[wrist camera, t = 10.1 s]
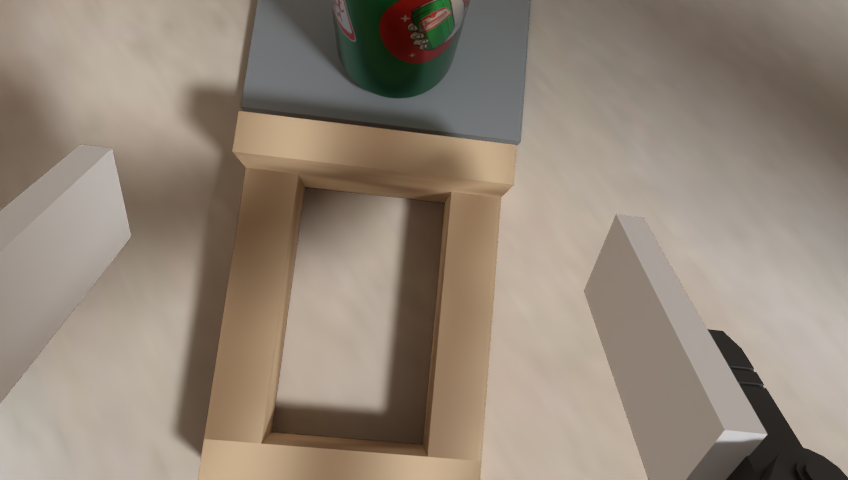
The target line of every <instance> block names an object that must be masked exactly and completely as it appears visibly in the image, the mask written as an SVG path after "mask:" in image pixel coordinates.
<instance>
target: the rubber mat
mask: <svg viewBox="0 0 848 480" xmlns="http://www.w3.org/2000/svg"><path fill="white" fill-rule="evenodd" d="M530 1H531V0H471V1H470V5H469V8H468V12H467V15H466V18H465V22H464V25H463V28H462V32H461V35H460V39H459V42H458V45H457V49H456V52H455V55H454V59H453V62H452V64H451V67H450V69H449V71H448V72H447V74H446V75H445V77H444V78H443V79H442V80H441V81H440V82H439V83H438V84H437V85H436V86H435V87H433V88H432V89H430V90H428V91H427V92H425V93H423V94H420V95H417V96H414V97H409V98H399V99H396V98H387V97H383V96H379V95H376V94H374V93H371V92H369V91H367V90H366V89H364V88H362V87H361V86H360V85H358V84H357V83H356V82H355V81H354V80H353V79H352V78H351V77H350V76H349V75H348V73H347V72H346V70H345V69H344V67H343V65H342V63H341V61H340V58H339V54H338V51H337V44H336V37H335V29H334V22H333V15H332V7H331V0H258V2H257V8H256V14H255V20H254V27H253V33H252V39H251V45H250V52H249V58H248V64H247V71H246V77H245V83H244V89H243V96H242V102H241V108H242V109H243V111H246V112H254V113H262V114H271V115H279V116H287V117H295V118H303V119H311V120H319V121H327V122H335V123H343V124H352V125H360V126H368V127H376V128H384V129H392V130H400V131H408V132H416V133H425V134H433V135H441V136H449V137H457V138H465V139H473V140H481V141H489V142H497V143H506V144H514V145H518V144H519V143H520V142H521V130H522V116H523V101H524V87H525V73H526V58H527V44H528V30H529V15H530Z"/></svg>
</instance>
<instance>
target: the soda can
mask: <svg viewBox="0 0 848 480" xmlns="http://www.w3.org/2000/svg"><path fill="white" fill-rule="evenodd" d="M470 1H471V0H331V7H332V15H333V22H334V29H335V37H336V44H337V51H338V54H339V58H340V61H341V63H342V65H343V67H344V69H345V70H346V72H347V73H348V75H349V76H350V77H351V78H352V79H353V80H354V81H355V82H356V83H357V84H358V85H360V86H361V87H362V88H364V89H366V90H367V91H369V92H371V93H374V94H376V95H379V96H383V97H387V98H396V99H399V98H409V97H414V96H417V95H420V94H423V93H425V92H427V91H428V90H430V89H432V88H433V87H435V86H436V85H437V84H438V83H439V82H440V81H441V80H442V79H443V78H444V77H445V75H446V74H447V72H448V71H449V69H450V67H451V64H452V62H453V59H454V55H455V52H456V49H457V45H458V42H459V39H460V35H461V32H462V28H463V25H464V22H465V18H466V15H467V12H468V8H469V5H470Z"/></svg>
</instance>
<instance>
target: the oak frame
mask: <svg viewBox="0 0 848 480" xmlns="http://www.w3.org/2000/svg"><path fill="white" fill-rule="evenodd" d="M516 147H517V145H512V144H503V143H495V142H487V141H479V140H471V139H463V138H455V137H447V136H439V135H430V134H422V133H414V132H406V131H398V130H390V129H382V128H374V127H366V126H357V125H349V124H341V123H333V122H325V121H317V120H309V119H301V118H293V117H285V116H276V115H268V114H260V113H252V112H244V111H239V112H238V118H237V124H236V131H235V137H234V143H233V149H232V152H233V153H234V154H235V156H236V157H237V158H238V159H239V160H240V162H241V163H242V164H243V165H244V166H245V168H246V170H245V177H244V183H243V190H242V196H241V202H240V209H239V215H238V222H237V228H236V235H235V241H234V248H233V254H232V261H231V267H230V274H229V280H228V287H227V293H226V299H225V306H224V312H223V319H222V325H221V332H220V338H219V345H218V351H217V358H216V364H215V371H214V377H213V383H212V390H211V396H210V403H209V409H208V416H207V422H206V429H205V435H204V442H203V448H202V455H201V461H200V468H199V474H198V480H480V474H481V461H482V447H483V434H484V420H485V407H486V394H487V380H488V367H489V353H490V340H491V327H492V313H493V300H494V286H495V273H496V259H497V246H498V233H499V219H500V206H501V197H502V196H503V195H504V194H505V193H506V192H507V191H508V190H509V189H510V188H511V187H512V186H513V185H514V175H515V161H516ZM305 187H310V188H319V189H328V190H337V191H345V192H354V193H363V194H372V195H380V196H389V197H398V198H407V199H415V200H424V201H433V202H442V203H445V209H444V220H443V231H442V241H441V252H440V263H439V274H438V285H437V296H436V307H435V318H434V329H433V340H432V351H431V361H430V372H429V383H428V394H427V405H426V416H425V427H424V438H423V445H421V444H409V443H397V442H385V441H372V440H360V439H348V438H335V437H323V436H311V435H298V434H286V433H274V432H272V427H273V420H274V412H275V405H276V397H277V390H278V383H279V375H280V368H281V361H282V353H283V346H284V338H285V331H286V324H287V316H288V309H289V301H290V294H291V287H292V279H293V272H294V265H295V257H296V250H297V242H298V235H299V228H300V220H301V213H302V205H303V198H304V191H305Z"/></svg>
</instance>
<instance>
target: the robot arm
mask: <svg viewBox="0 0 848 480" xmlns="http://www.w3.org/2000/svg"><path fill="white" fill-rule="evenodd" d="M130 238H131V233H130V228H129V223H128V219H127V214H126V210H125V205H124V201H123V196H122V191H121V187H120V182H119V178H118V173H117V169H116V164H115V159H114V155H113V150H112V148H105V147H98V146H90V145H82V144H80V145H79V146H78V147H77V148H75V149H74V150H73V151H72V152H71V153H69V154H68V155H67V156H66V157H65V158H63V159H62V160H61V161H60V162H58V163H57V164H56V165H55V166H54V167H52V168H51V169H50V170H49V171H48V172H46V173H45V174H44V175H43V176H42V177H40V178H39V179H38V180H37V181H36V182H34V183H33V184H32V185H31V186H30V187H28V188H27V189H26V190H25V191H23V192H22V193H21V194H20V195H19V196H17V197H16V198H15V199H14V200H13V201H11V202H10V203H9V204H8V205H7V206H5V207H4V208H3V209H2V210H1V211H0V403H1V402H2V401H3V400H4V398H5V397H6V396H7V394H8V393H9V392H10V391H11V389H12V388H13V387H14V386H15V384H16V383H17V382H18V380H19V379H20V378H21V377H22V375H23V374H24V373H25V372H26V370H27V369H28V368H29V366H30V365H31V364H32V363H33V361H34V360H35V359H36V358H37V356H38V355H39V354H40V352H41V351H42V350H43V349H44V347H45V346H46V345H47V344H48V342H49V341H50V340H51V338H52V337H53V336H54V335H55V333H56V332H57V331H58V330H59V328H60V327H61V326H62V324H63V323H64V322H65V321H66V319H67V318H68V317H69V316H70V314H71V313H72V312H73V310H74V309H75V308H76V307H77V305H78V304H79V303H80V302H81V300H82V299H83V298H84V296H85V295H86V294H87V293H88V291H89V290H90V289H91V288H92V286H93V285H94V284H95V282H96V281H97V280H98V279H99V277H100V276H101V275H102V274H103V272H104V271H105V270H106V268H107V267H108V266H109V265H110V263H111V262H112V261H113V260H114V258H115V257H116V256H117V254H118V253H119V252H120V251H121V249H122V248H123V247H124V246H125V244H126V243H127V242H128V240H129V239H130ZM584 293H585V295H586V298H587V301H588V304H589V307H590V310H591V313H592V316H593V319H594V322H595V325H596V328H597V331H598V333H599V336H600V339H601V342H602V345H603V348H604V351H605V354H606V357H607V360H608V363H609V366H610V369H611V371H612V374H613V377H614V380H615V383H616V386H617V389H618V392H619V395H620V398H621V401H622V404H623V407H624V409H625V412H626V415H627V418H628V421H629V424H630V427H631V430H632V433H633V436H634V439H635V442H636V445H637V447H638V450H639V453H640V456H641V459H642V462H643V465H644V468H645V471H646V474H647V477H648V480H848V477H847V476H846V475H845V474H844V473H843V472H842V471H841V470H840V468H839V467H837V466H836V465H834V464H833V463H832V462H830V461H829V460H828V459H826V458H825V457H824V456H822V455H819V454H817V453H815V452H813V451H811V450H809V449H805V448H803V447H802V445H801V444H800V442H799V441H798V439H797V437H796V436H795V434H794V432H793V431H792V429H791V428H790V426H789V424H788V423H787V421H786V420H785V418H784V416H783V415H782V413H781V411H780V410H779V408H778V407H777V405H776V403H775V402H774V400H773V399H772V397H771V395H770V394H769V392H768V390H767V389H766V388H764V387H763V385H764V384H763V382H762V381H761V379H760V378H759V376H758V374H757V373H756V372H754V371H753V369H754V368H753V366H752V365H751V363H750V361H749V360H748V358H747V357H746V355H745V353H744V352H743V350H742V349H741V348H740V347H739V346H738V345H737V344H736V343H735V342H734V341H733V340H732V339H731V338H730V337H728V336H727V335H726V334H725V333H724V332H723V331H718V330H709V329H707V328H706V326H705V324H704V322H703V321H702V319H701V317H700V315H699V314H698V312H697V310H696V308H695V307H694V305H693V303H692V301H691V300H690V298H689V296H688V294H687V293H686V291H685V289H684V287H683V286H682V284H681V282H680V280H679V279H678V277H677V275H676V273H675V272H674V270H673V268H672V266H671V265H670V263H669V261H668V260H667V258H666V256H665V254H664V253H663V251H662V249H661V247H660V246H659V244H658V242H657V240H656V239H655V237H654V235H653V233H652V232H651V230H650V228H649V226H648V225H647V223H646V221H645V219H644V218H641V217H633V216H626V215H618V214H616V216H615V218H614V221H613V223H612V225H611V228H610V230H609V233H608V235H607V237H606V240H605V242H604V244H603V247H602V249H601V252H600V254H599V256H598V259H597V261H596V263H595V266H594V268H593V271H592V273H591V275H590V278H589V280H588V282H587V285H586V287H585V290H584Z"/></svg>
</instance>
